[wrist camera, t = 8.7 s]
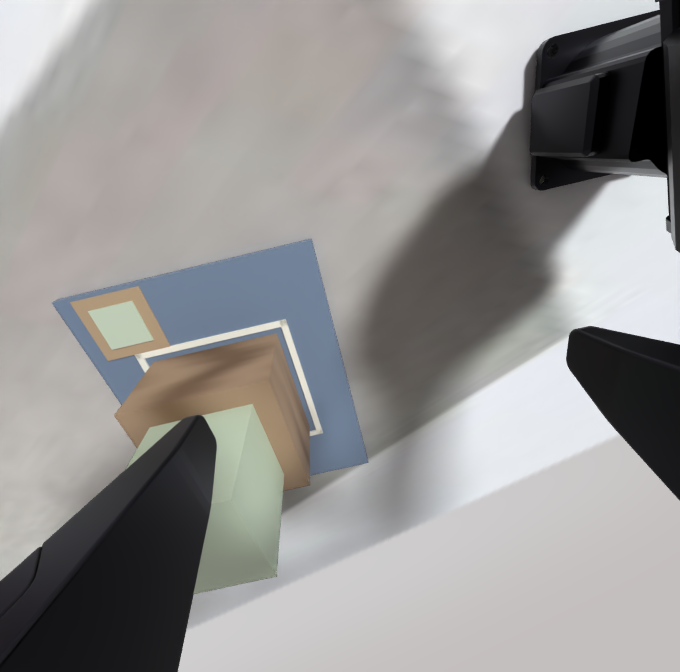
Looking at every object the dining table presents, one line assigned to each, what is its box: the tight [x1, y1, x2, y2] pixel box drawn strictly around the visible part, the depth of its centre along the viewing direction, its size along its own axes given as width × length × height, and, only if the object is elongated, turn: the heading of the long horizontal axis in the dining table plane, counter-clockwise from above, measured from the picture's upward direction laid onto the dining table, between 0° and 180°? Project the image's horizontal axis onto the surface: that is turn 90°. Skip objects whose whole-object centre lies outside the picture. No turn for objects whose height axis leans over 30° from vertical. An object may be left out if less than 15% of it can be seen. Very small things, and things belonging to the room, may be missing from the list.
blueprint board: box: [52, 239, 368, 475], centre depth 24 cm, size 15×18×1 cm
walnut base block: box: [114, 333, 310, 491], centre depth 21 cm, size 8×8×5 cm
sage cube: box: [125, 404, 284, 594], centre depth 17 cm, size 6×6×6 cm
